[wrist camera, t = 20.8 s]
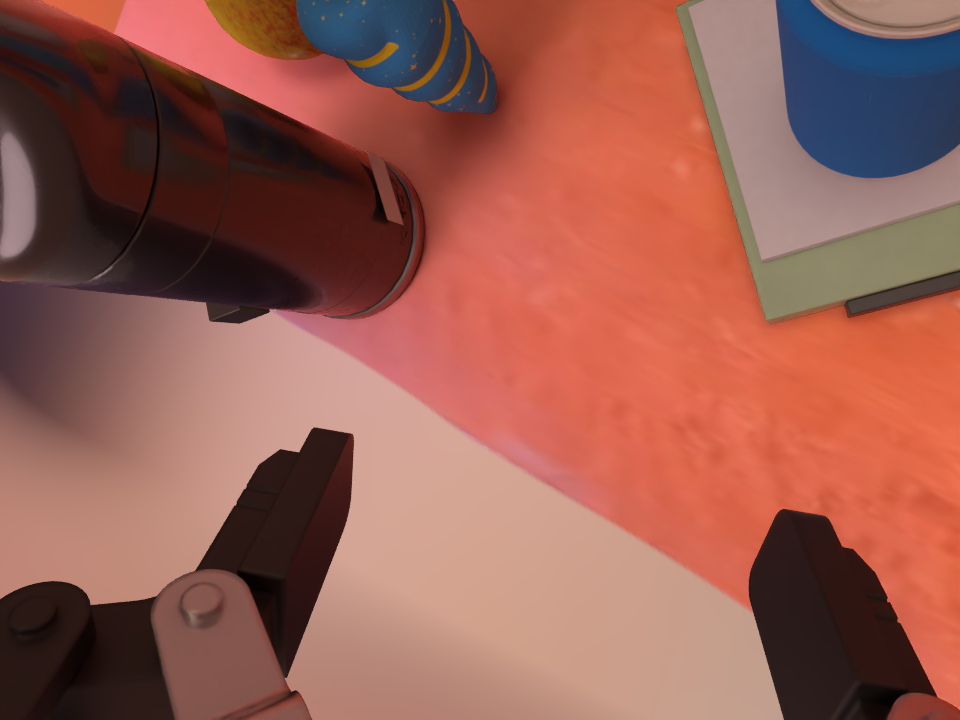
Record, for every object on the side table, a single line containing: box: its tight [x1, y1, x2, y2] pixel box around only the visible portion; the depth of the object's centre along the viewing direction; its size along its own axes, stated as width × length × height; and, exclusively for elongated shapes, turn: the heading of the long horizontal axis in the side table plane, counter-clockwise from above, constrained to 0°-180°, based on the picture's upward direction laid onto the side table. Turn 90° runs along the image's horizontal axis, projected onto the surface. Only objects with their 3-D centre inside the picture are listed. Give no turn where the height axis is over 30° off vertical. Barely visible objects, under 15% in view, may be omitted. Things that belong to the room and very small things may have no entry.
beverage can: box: [776, 0, 960, 178], centre depth 21 cm, size 6×6×12 cm
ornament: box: [296, 0, 497, 114], centre depth 30 cm, size 5×5×15 cm
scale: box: [676, 0, 960, 325], centre depth 28 cm, size 12×15×4 cm
